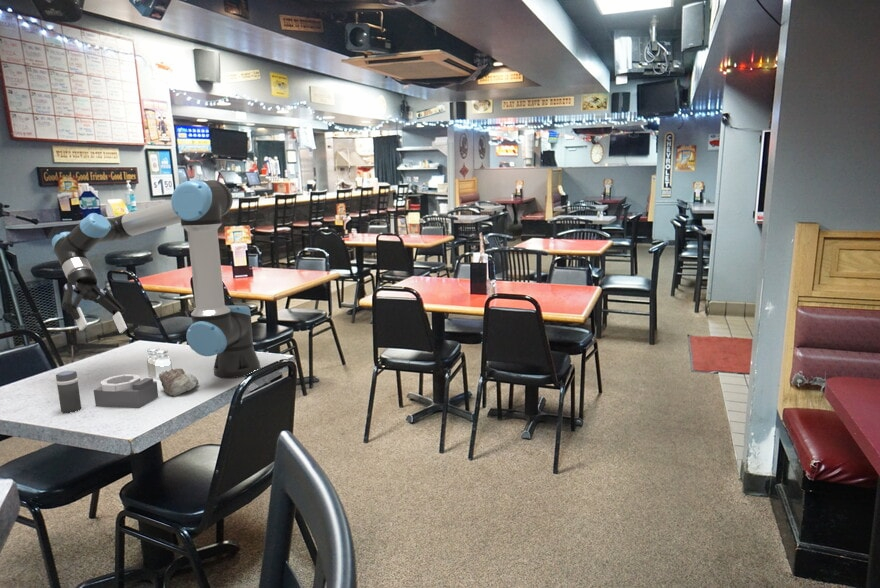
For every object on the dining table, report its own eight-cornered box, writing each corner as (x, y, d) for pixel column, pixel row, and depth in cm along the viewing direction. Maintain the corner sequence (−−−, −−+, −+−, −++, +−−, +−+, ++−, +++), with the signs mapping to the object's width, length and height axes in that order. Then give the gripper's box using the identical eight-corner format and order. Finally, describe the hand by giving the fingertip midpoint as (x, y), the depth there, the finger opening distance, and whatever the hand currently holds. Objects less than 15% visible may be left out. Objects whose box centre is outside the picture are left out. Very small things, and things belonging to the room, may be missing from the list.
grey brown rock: (203, 384, 180) (181, 359, 177) (177, 405, 176) (155, 380, 173) (197, 380, 193) (177, 357, 190) (173, 399, 189) (151, 376, 186)
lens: (86, 407, 171) (81, 370, 169) (72, 414, 166) (67, 376, 164) (70, 406, 171) (65, 369, 169) (56, 413, 166) (50, 375, 164)
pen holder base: (159, 396, 178) (156, 375, 177) (138, 408, 169) (135, 386, 167) (117, 394, 180) (115, 373, 179) (94, 406, 171) (91, 384, 169)
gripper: (107, 287, 196) (131, 338, 189) (33, 276, 173) (57, 334, 166) (121, 274, 194) (146, 324, 188) (48, 260, 171) (73, 318, 164)
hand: (104, 329), depth 177 cm, fingers open, 13 cm apart
